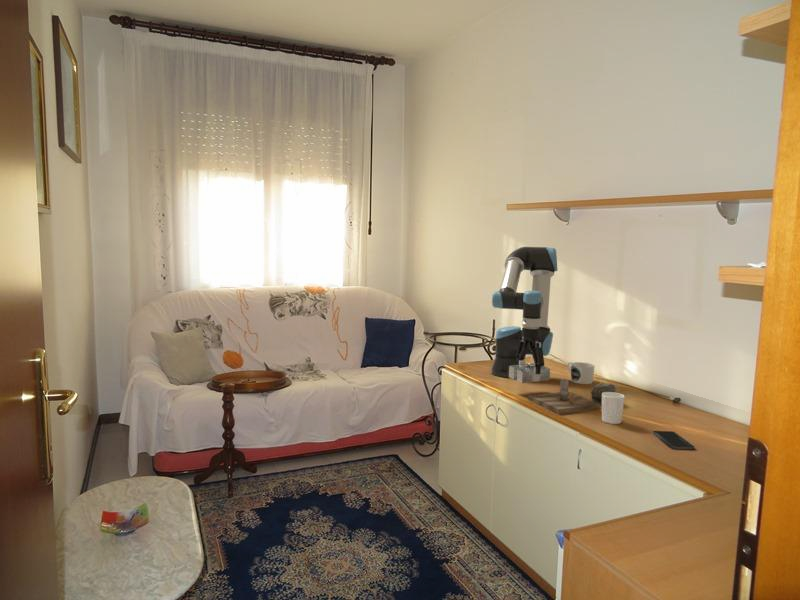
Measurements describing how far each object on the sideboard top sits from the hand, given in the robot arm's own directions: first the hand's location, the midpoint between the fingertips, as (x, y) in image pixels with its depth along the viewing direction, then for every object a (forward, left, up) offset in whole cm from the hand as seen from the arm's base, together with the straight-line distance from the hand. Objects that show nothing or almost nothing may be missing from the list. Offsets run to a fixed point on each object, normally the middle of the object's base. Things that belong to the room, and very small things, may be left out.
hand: (528, 377), depth 240 cm
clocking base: (+19, +4, -7) cm, 20 cm away
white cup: (+41, +8, -7) cm, 43 cm away
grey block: (0, 0, 0) cm, 0 cm away
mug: (-10, +36, -7) cm, 38 cm away
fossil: (+22, +22, -7) cm, 32 cm away
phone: (+64, +13, -7) cm, 66 cm away
